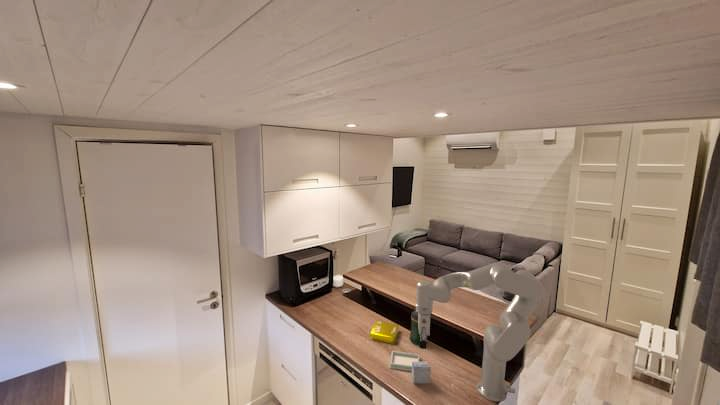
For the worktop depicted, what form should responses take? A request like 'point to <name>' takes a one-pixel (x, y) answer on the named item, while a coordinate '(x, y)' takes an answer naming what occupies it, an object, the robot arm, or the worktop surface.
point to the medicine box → (421, 372)
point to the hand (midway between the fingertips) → (422, 341)
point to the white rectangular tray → (403, 360)
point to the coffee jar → (414, 329)
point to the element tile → (384, 332)
